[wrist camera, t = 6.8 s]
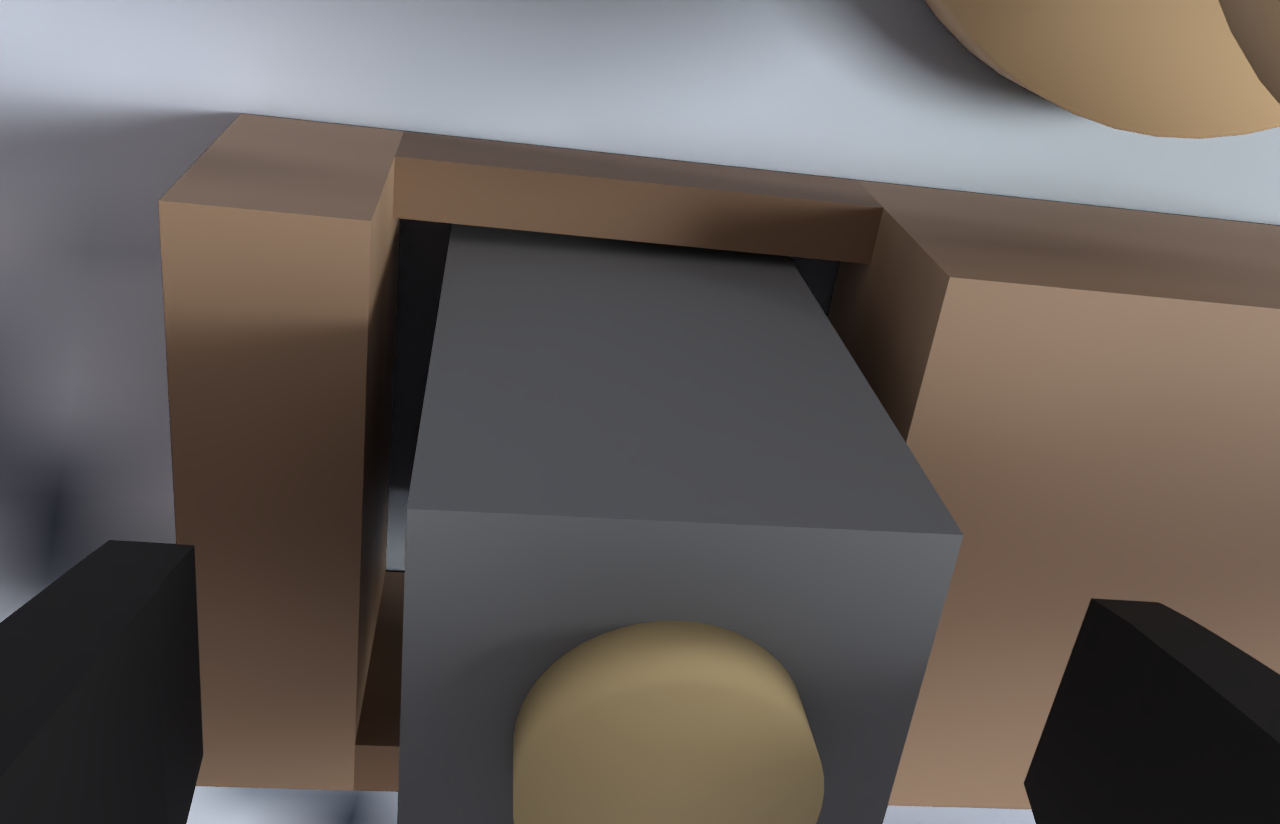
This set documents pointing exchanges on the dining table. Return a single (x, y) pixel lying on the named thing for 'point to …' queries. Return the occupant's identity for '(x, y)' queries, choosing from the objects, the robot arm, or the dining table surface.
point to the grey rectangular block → (656, 547)
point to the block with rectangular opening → (869, 328)
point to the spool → (1135, 59)
